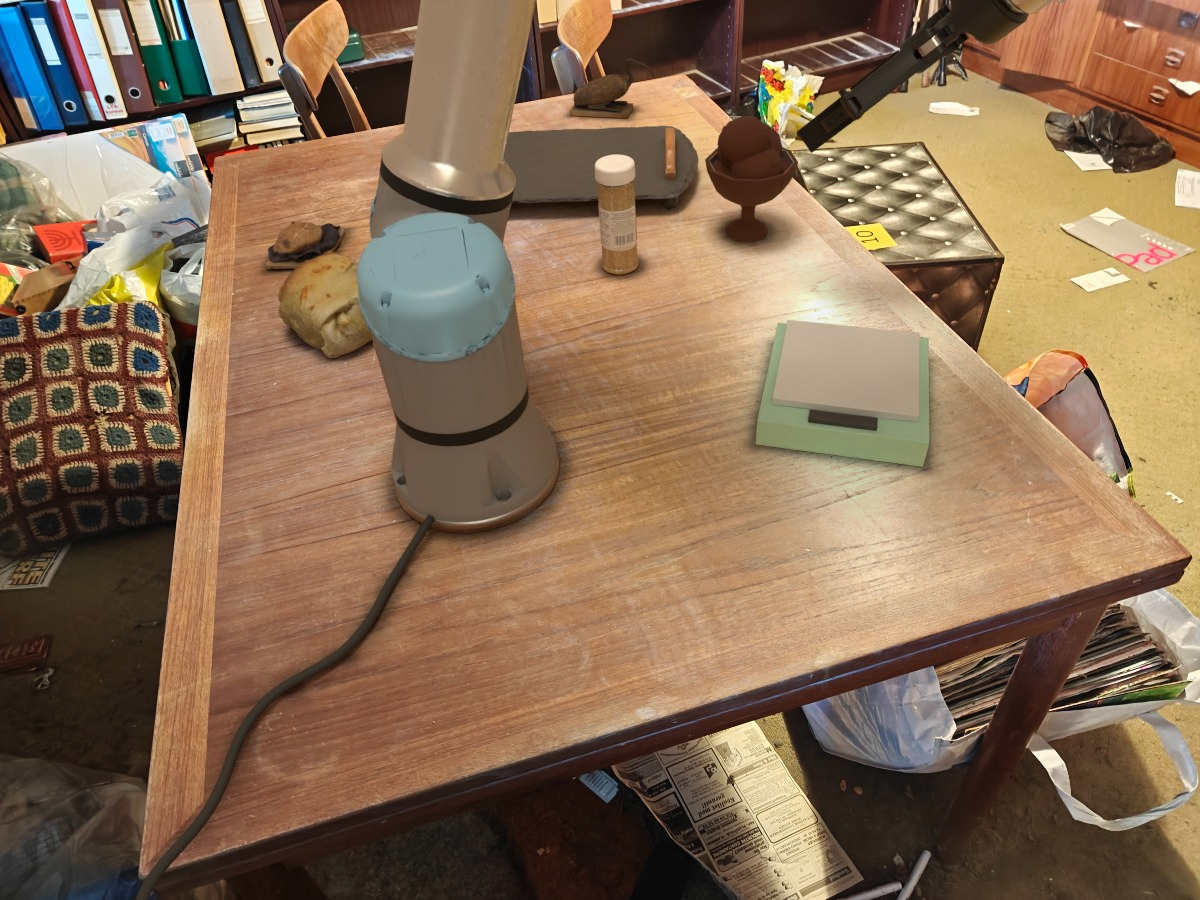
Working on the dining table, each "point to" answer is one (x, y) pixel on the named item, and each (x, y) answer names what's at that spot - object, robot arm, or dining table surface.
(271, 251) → the open sandwich
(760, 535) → the dining table surface
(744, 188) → the ice cream bowl
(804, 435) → the kitchen scale
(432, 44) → the robot arm
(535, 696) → the dining table surface
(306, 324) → the pastry
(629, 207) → the sprinkles bottle
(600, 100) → the figurine
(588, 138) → the serving tray
